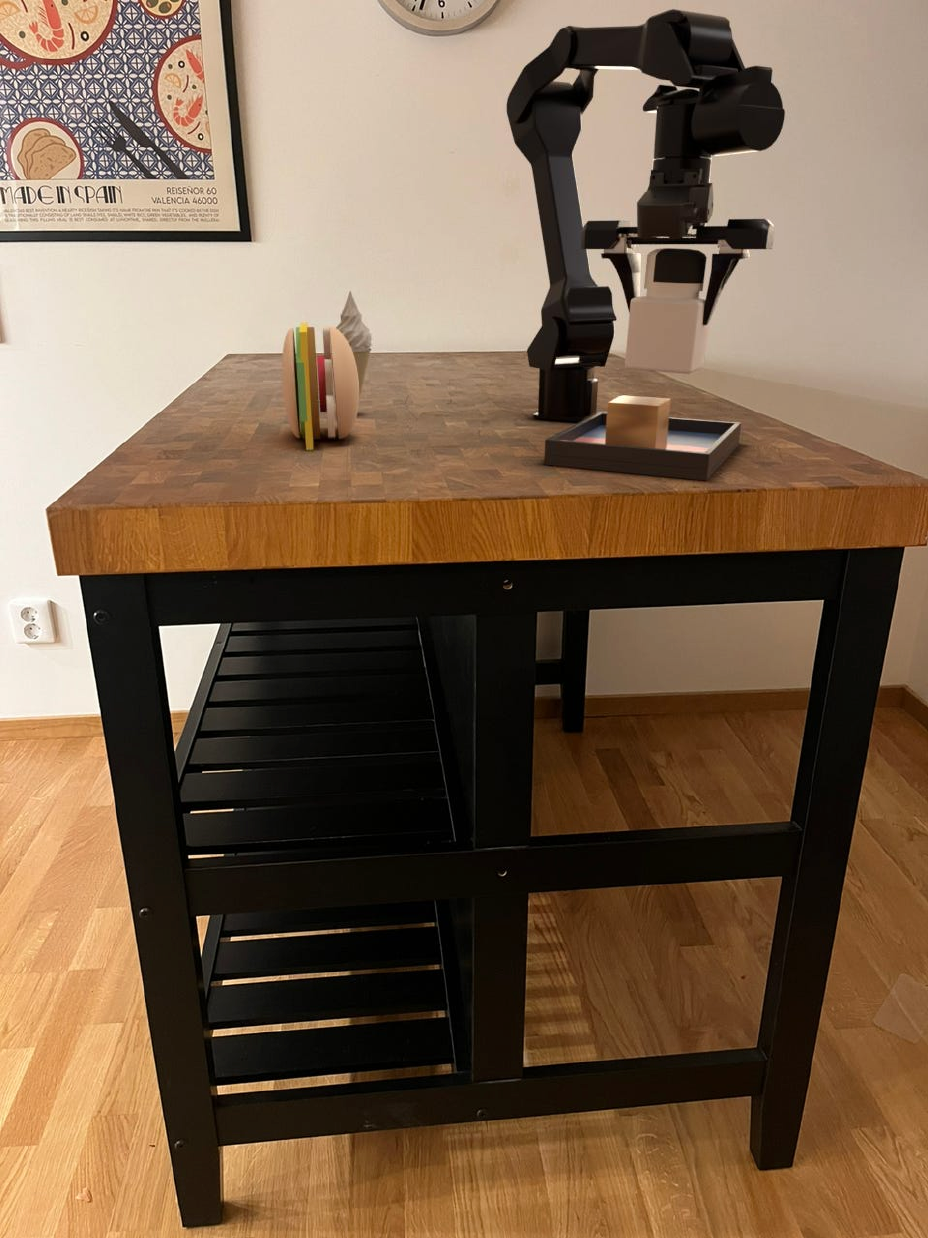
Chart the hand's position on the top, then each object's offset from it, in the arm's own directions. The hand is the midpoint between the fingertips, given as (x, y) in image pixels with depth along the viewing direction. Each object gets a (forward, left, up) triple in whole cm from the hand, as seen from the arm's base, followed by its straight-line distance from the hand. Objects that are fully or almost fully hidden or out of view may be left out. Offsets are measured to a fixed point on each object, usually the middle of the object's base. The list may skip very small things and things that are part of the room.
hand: (669, 323), depth 98 cm
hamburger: (-35, -14, -13) cm, 40 cm away
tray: (0, -7, -13) cm, 15 cm away
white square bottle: (0, 0, -5) cm, 5 cm away
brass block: (0, -12, -11) cm, 16 cm away
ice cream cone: (-40, +1, -13) cm, 42 cm away
